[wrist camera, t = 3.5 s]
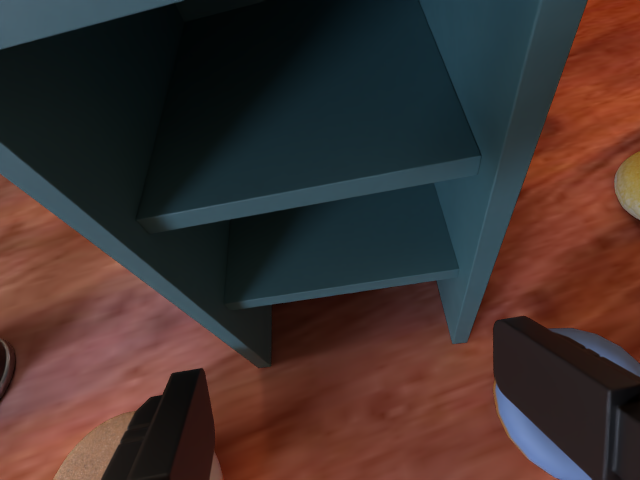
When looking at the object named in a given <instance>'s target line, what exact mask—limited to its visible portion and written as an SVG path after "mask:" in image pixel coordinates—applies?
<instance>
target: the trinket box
mask: <svg viewBox="0 0 640 480" xmlns="http://www.w3.org/2000/svg"><path fill="white" fill-rule="evenodd" d="M135 412H136V411H133V412H128V413H123V414H121V415H118V416H116V417H113V418H111V419H109V420H107V421H106V422H104V423H102V424H100V425H99V426H98V427H96V428H95V429H94V430H92V431H91V432H90V433H89V434H87V435H86V436H85V437H84V438H83V439H82V440H81V441H80V442H79V443H78V444H77V445H76V447H75V448H74V449H73V450H72V451H71V452H70V454H69V455H68V456H67V458H66V459H65V461H64V462H63V464H62V465H61V467H60V468H59V470H58V472H57V474H56V475H55V477H54V479H53V480H101V478H102V476H103V474H104V472H105V470H106V468H107V466H108V464H109V462H110V460H111V458H112V456H113V454H114V452H115V451H116V449H117V447H118V445H120V441H121V439H122V437H123V435H124V433H125V431H127V427H128V425H129V423H130V421H131V419H132V417H133V415H134V413H135ZM209 480H223V475H222V471H221V467H220V464H219V461H218V458H217V456H216V454H215V452H214V455H213V461H212V467H211V473H210V479H209Z"/></svg>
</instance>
